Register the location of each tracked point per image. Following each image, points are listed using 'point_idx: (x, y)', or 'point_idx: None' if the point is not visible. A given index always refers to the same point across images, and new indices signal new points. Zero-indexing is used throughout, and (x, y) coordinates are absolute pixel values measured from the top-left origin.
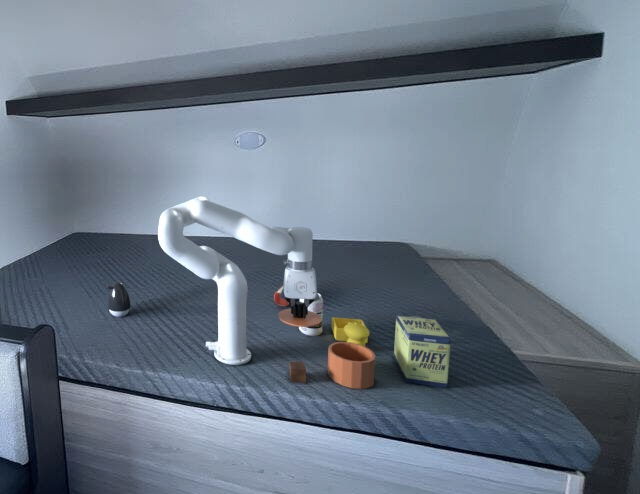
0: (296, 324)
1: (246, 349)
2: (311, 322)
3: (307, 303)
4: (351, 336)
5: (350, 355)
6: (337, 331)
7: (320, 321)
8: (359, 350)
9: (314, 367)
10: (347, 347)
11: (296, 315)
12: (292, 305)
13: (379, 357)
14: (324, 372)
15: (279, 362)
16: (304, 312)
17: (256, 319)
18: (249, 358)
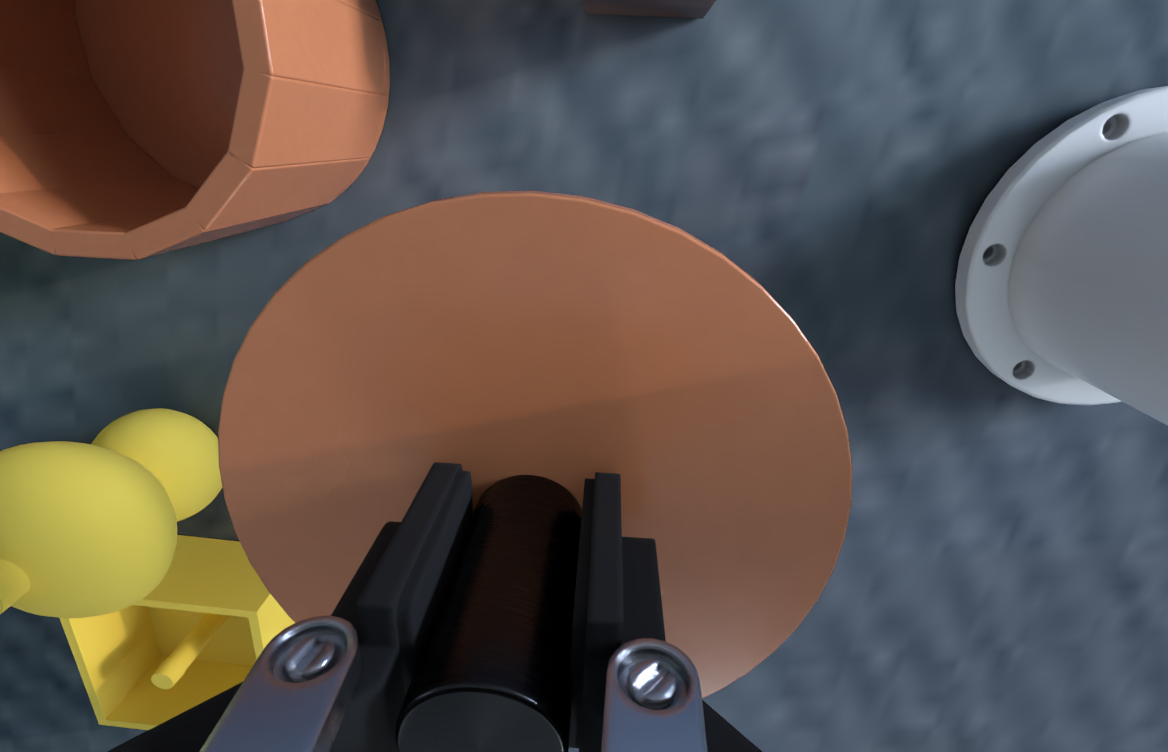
0: (624, 230)
1: (987, 332)
2: (361, 337)
3: (273, 697)
4: (117, 462)
5: (155, 210)
6: (261, 593)
7: (225, 388)
8: (16, 182)
9: (482, 164)
10: (122, 224)
11: (572, 513)
12: (653, 660)
13: (51, 367)
14: (416, 95)
15: (740, 204)
16: (427, 521)
17: (761, 745)
18: (1011, 183)
